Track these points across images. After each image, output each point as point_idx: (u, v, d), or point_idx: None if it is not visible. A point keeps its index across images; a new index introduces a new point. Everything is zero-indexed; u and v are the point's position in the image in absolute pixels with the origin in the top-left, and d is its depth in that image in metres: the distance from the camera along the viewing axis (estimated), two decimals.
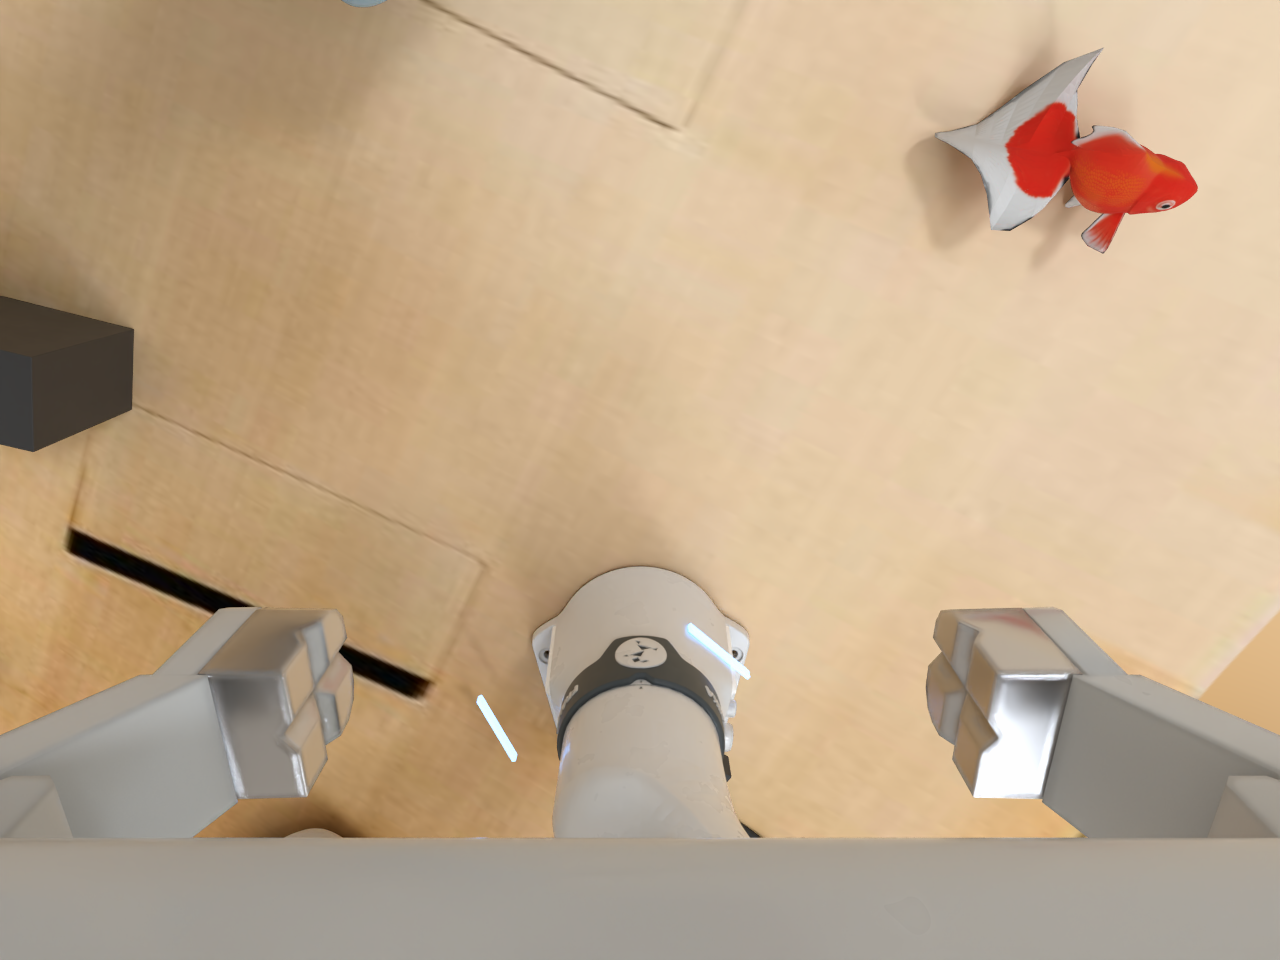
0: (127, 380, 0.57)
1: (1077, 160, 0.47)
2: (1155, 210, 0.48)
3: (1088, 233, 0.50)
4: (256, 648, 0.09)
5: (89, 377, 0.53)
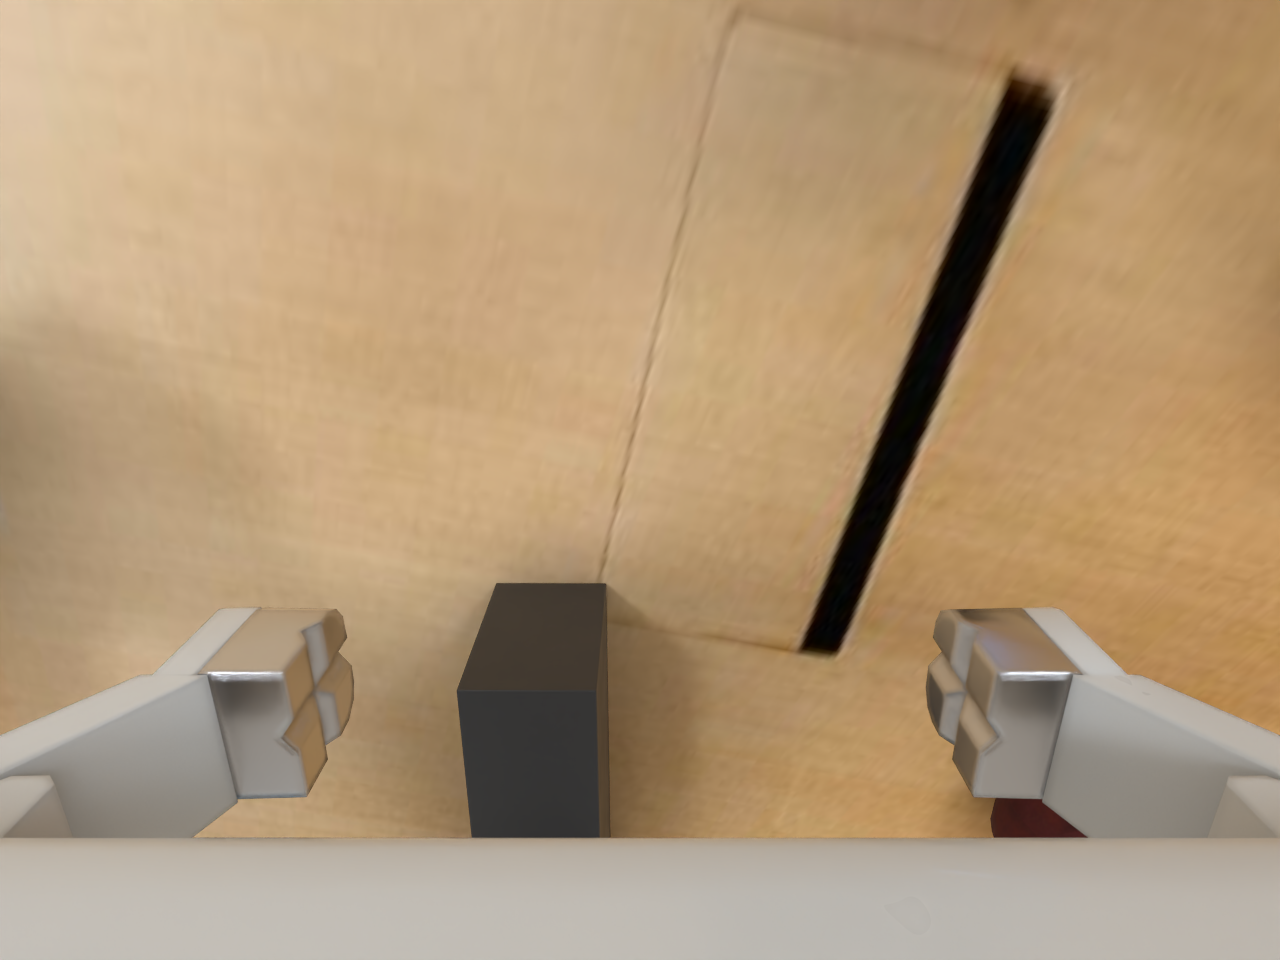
0: (561, 588, 0.44)
1: None
2: None
3: None
4: (256, 648, 0.09)
5: (529, 627, 0.40)
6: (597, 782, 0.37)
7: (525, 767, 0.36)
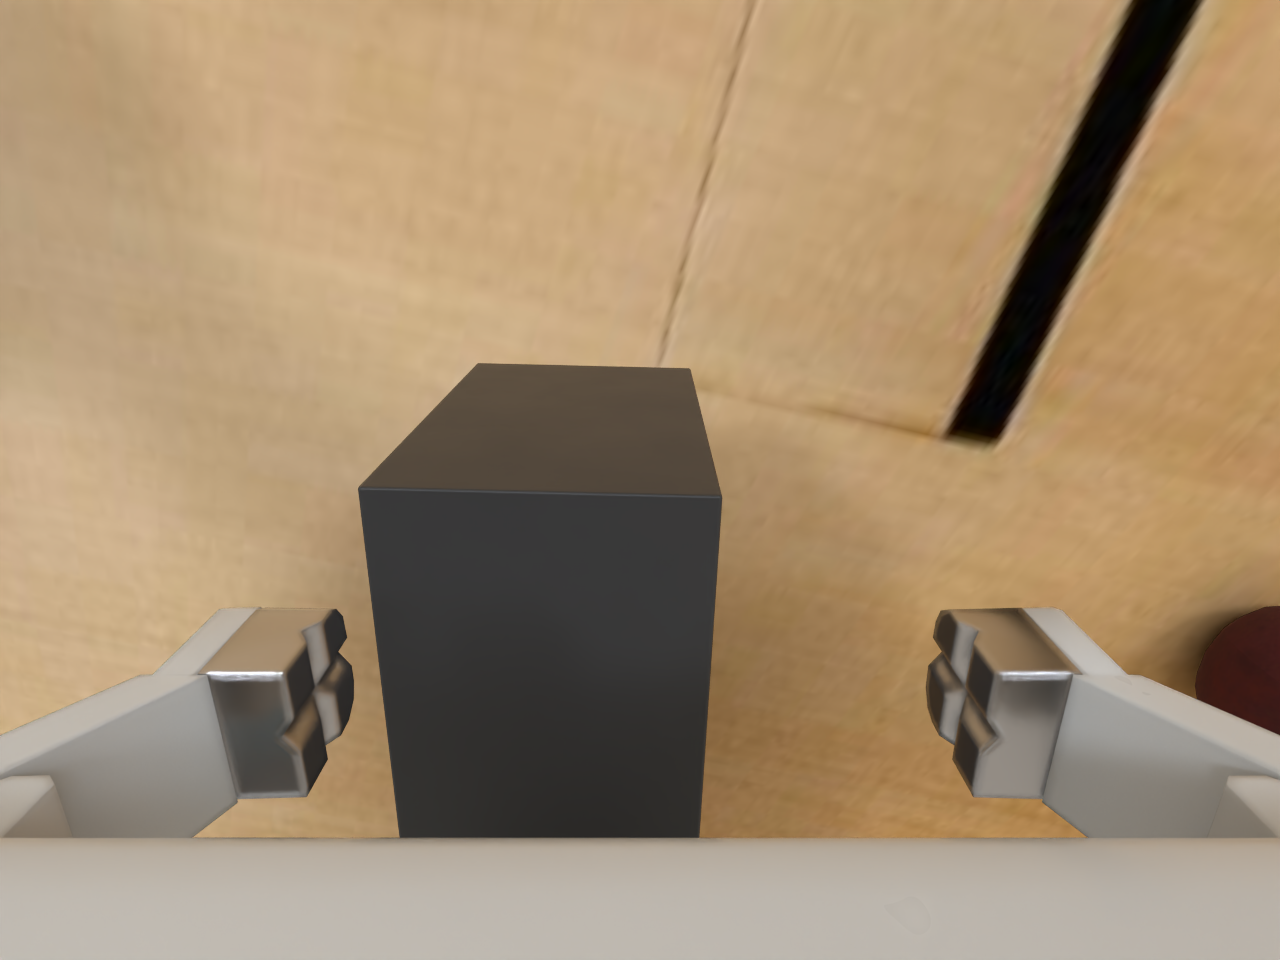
0: (605, 370, 0.22)
1: None
2: None
3: None
4: (256, 648, 0.09)
5: (544, 408, 0.18)
6: (703, 741, 0.15)
7: (532, 699, 0.15)
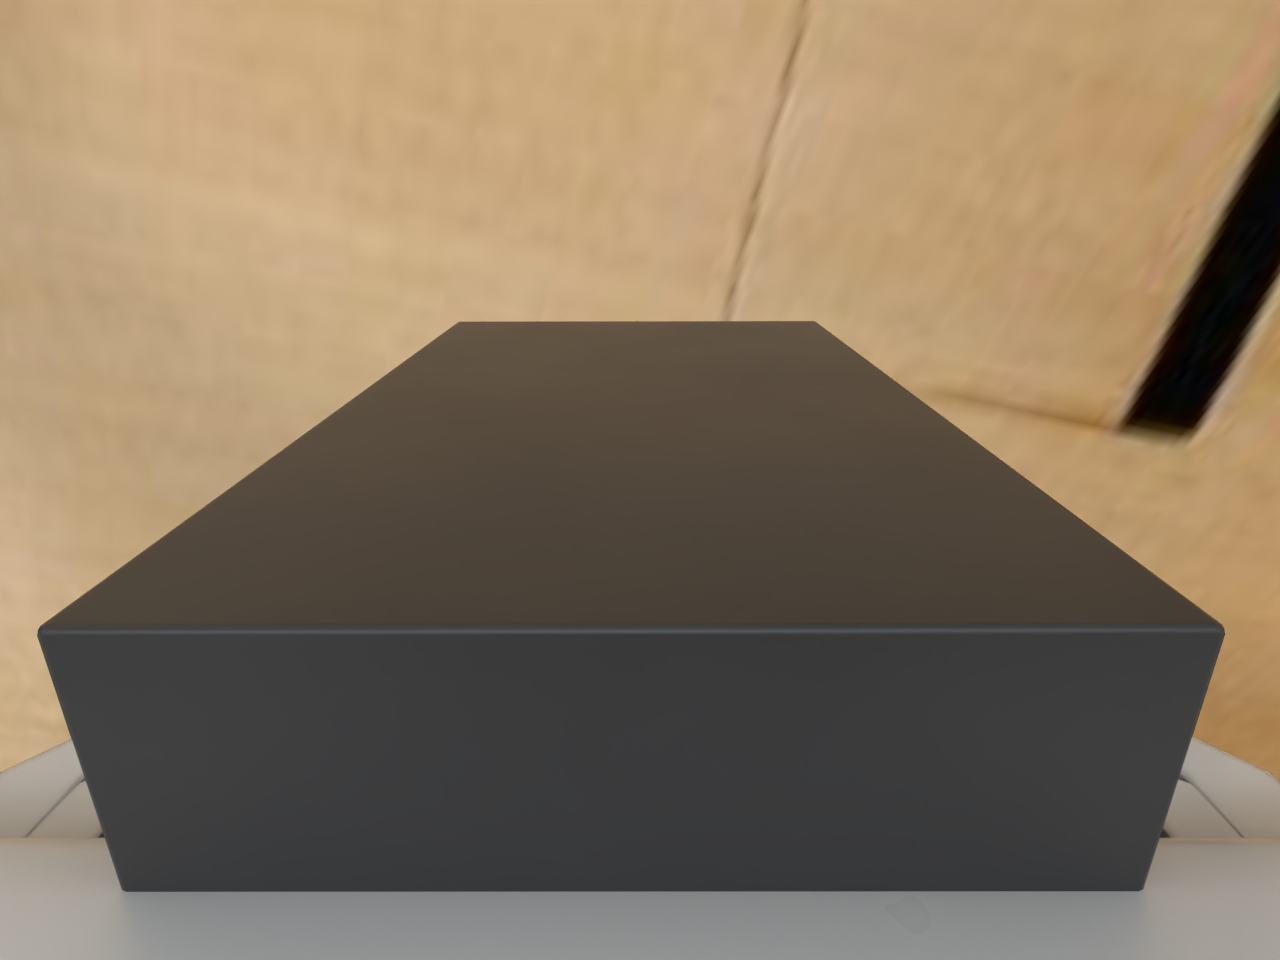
0: (677, 326, 0.13)
1: None
2: None
3: None
4: None
5: (586, 386, 0.09)
6: None
7: None
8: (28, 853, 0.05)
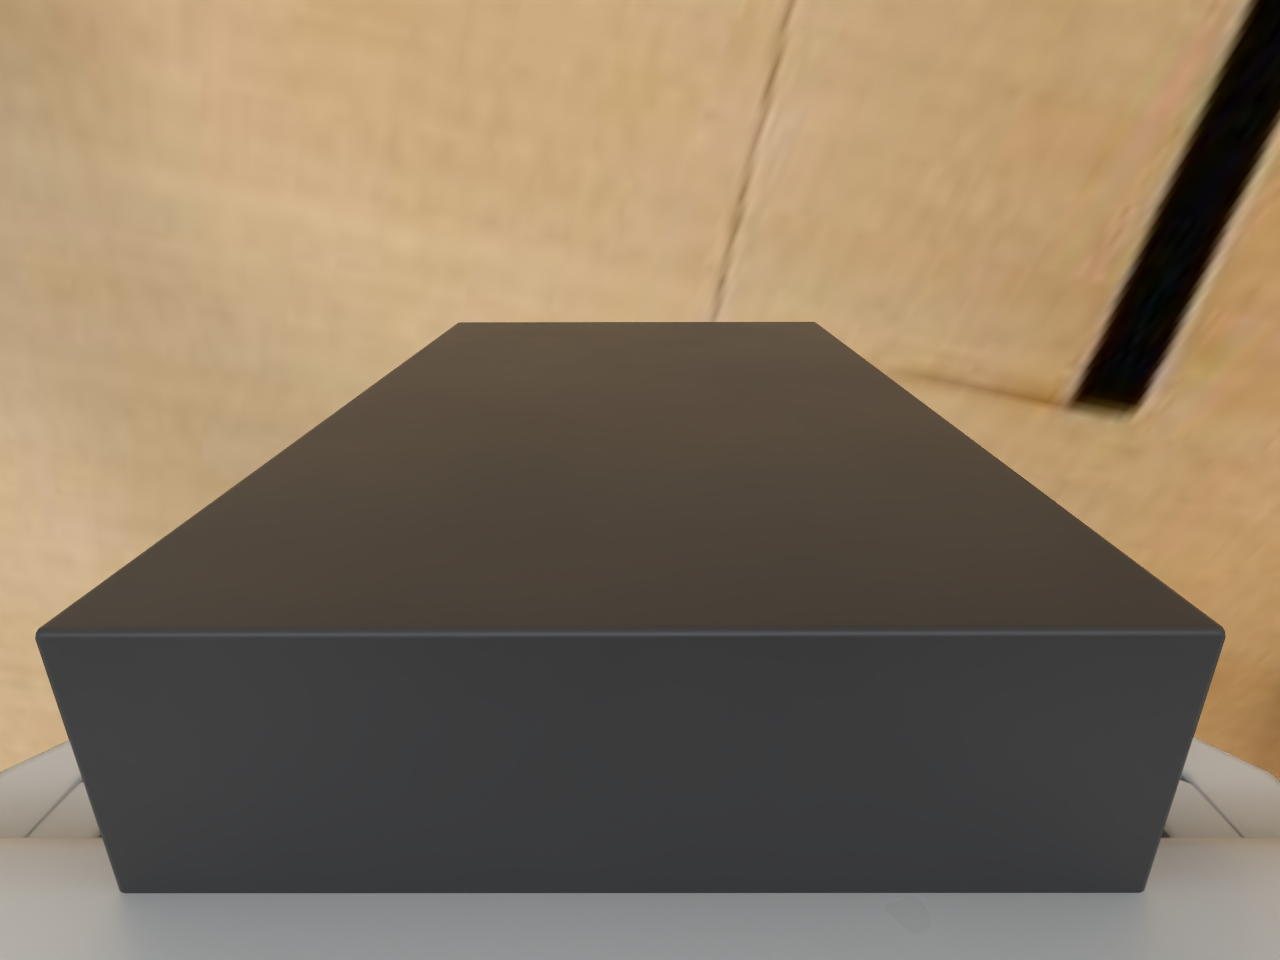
0: (676, 327, 0.13)
1: None
2: None
3: None
4: None
5: (585, 387, 0.09)
6: None
7: None
8: (28, 853, 0.05)
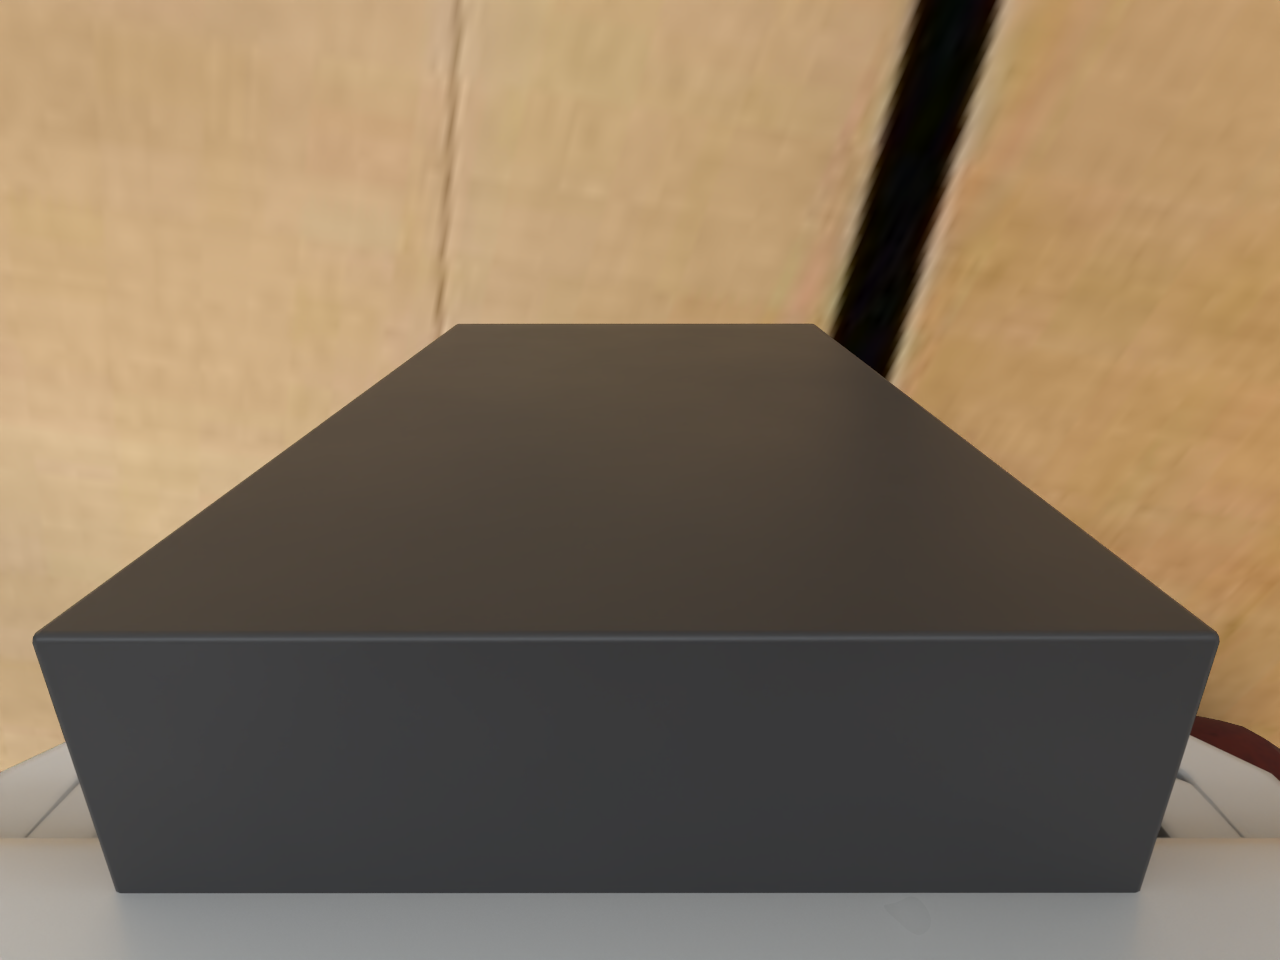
0: (675, 329, 0.13)
1: None
2: None
3: None
4: None
5: (584, 390, 0.09)
6: None
7: None
8: (28, 853, 0.05)
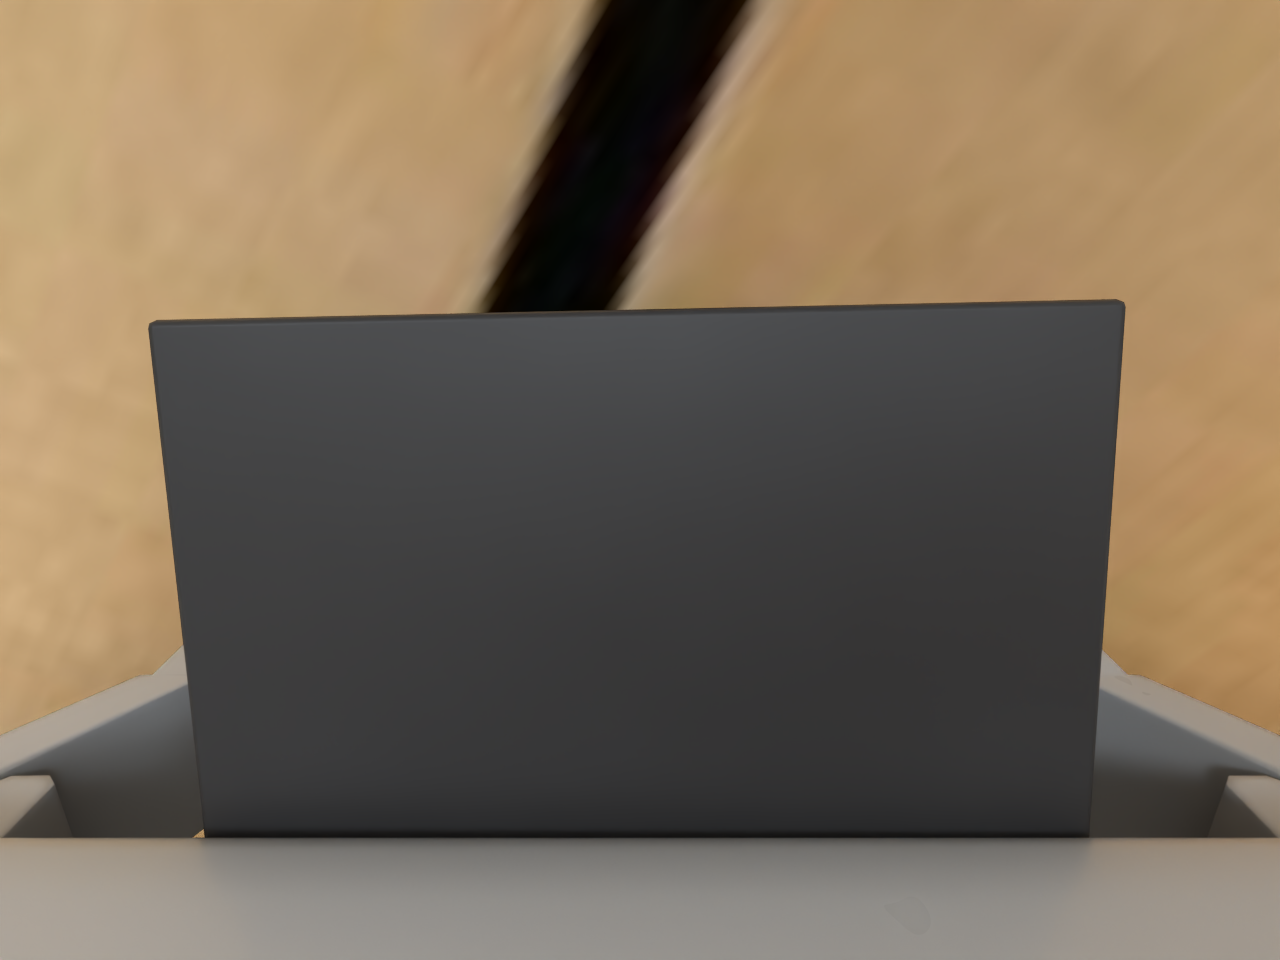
0: None
1: None
2: None
3: None
4: None
5: None
6: None
7: None
8: (28, 853, 0.05)
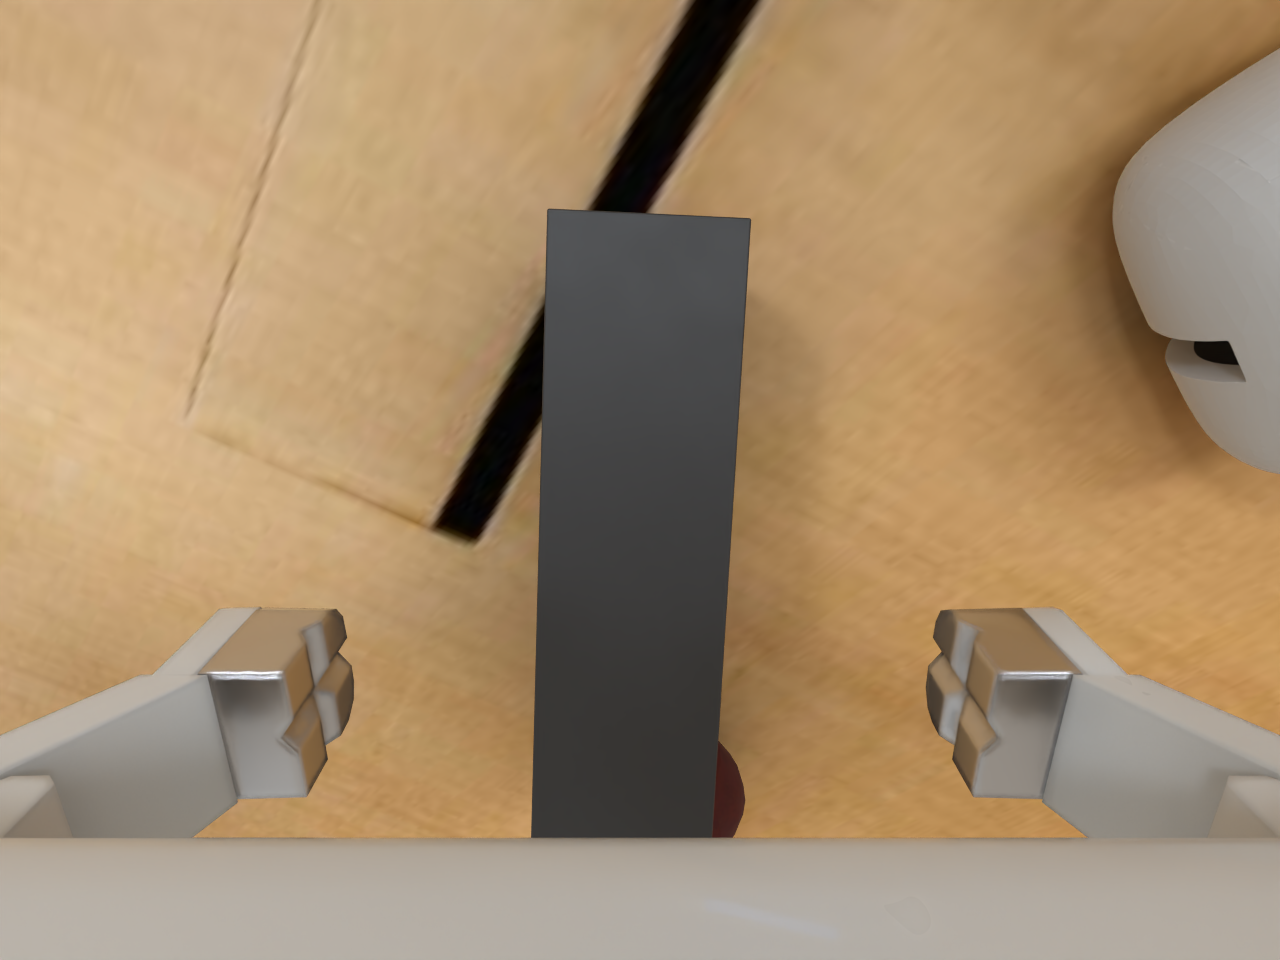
0: None
1: None
2: None
3: None
4: (256, 648, 0.09)
5: None
6: (738, 388, 0.25)
7: (635, 355, 0.25)
8: (28, 853, 0.05)
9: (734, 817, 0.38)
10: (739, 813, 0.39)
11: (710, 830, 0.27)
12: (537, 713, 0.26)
